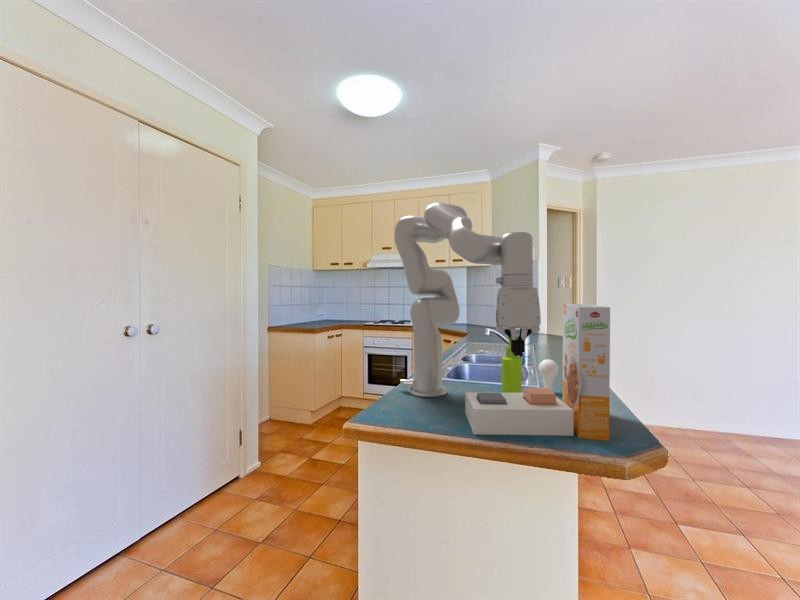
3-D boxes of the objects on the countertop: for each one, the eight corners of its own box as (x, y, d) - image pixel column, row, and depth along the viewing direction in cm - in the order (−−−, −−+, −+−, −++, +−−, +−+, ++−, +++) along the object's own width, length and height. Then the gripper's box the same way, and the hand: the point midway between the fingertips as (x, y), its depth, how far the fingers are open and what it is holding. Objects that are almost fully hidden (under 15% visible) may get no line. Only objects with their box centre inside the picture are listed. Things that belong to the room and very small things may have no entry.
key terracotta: (530, 410, 87) (530, 394, 87) (523, 402, 93) (523, 387, 93) (555, 410, 87) (555, 394, 87) (546, 402, 93) (546, 387, 93)
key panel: (473, 434, 84) (473, 409, 84) (465, 414, 98) (465, 392, 98) (573, 435, 83) (573, 410, 83) (550, 414, 97) (550, 392, 97)
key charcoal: (481, 415, 88) (481, 399, 87) (477, 407, 94) (477, 392, 93) (506, 416, 87) (506, 399, 87) (500, 408, 93) (500, 392, 93)
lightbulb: (550, 396, 114) (550, 361, 114) (534, 391, 120) (534, 358, 119) (562, 393, 117) (562, 360, 117) (546, 388, 123) (546, 357, 122)
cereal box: (562, 407, 103) (562, 303, 103) (586, 409, 101) (586, 303, 101) (578, 437, 82) (579, 307, 81) (609, 440, 80) (610, 307, 79)
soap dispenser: (526, 403, 106) (526, 337, 106) (502, 402, 108) (502, 336, 107) (523, 398, 112) (523, 334, 112) (500, 396, 114) (500, 334, 113)
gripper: (489, 282, 86) (490, 358, 86) (553, 281, 85) (553, 357, 85) (484, 283, 94) (485, 353, 94) (542, 282, 93) (543, 352, 93)
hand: (517, 355), depth 89 cm, fingers closed
